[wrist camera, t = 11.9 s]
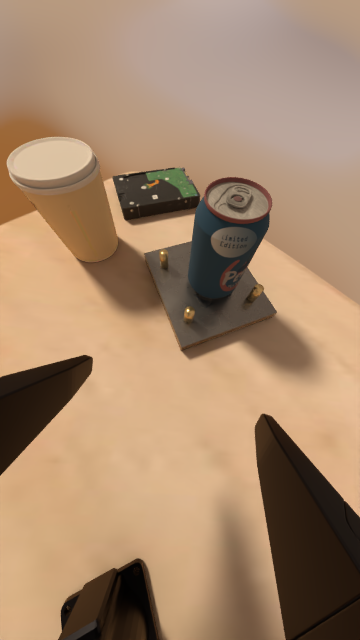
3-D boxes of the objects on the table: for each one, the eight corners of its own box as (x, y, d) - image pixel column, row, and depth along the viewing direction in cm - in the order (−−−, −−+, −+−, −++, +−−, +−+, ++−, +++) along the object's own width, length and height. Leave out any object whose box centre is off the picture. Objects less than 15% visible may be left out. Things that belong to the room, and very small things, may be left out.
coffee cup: (78, 222, 32) (29, 131, 21) (129, 229, 32) (106, 140, 21) (56, 262, 28) (-17, 176, 17) (114, 270, 28) (77, 187, 17)
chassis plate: (271, 317, 26) (287, 303, 22) (180, 350, 23) (182, 341, 20) (222, 240, 32) (228, 219, 28) (145, 260, 29) (141, 240, 26)
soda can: (224, 311, 24) (267, 237, 13) (179, 290, 25) (183, 206, 14) (241, 274, 27) (288, 187, 16) (199, 257, 28) (215, 164, 17)
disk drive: (125, 224, 33) (199, 209, 36) (121, 209, 31) (201, 194, 33) (115, 191, 37) (182, 179, 40) (111, 175, 35) (183, 164, 37)
